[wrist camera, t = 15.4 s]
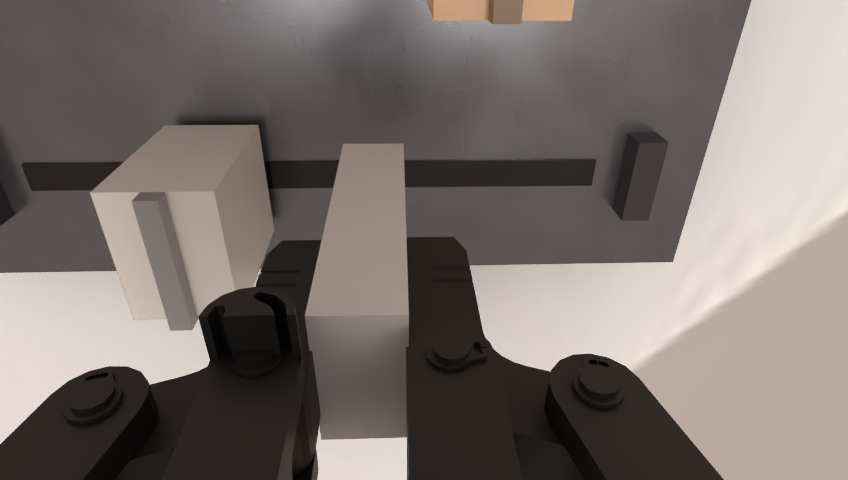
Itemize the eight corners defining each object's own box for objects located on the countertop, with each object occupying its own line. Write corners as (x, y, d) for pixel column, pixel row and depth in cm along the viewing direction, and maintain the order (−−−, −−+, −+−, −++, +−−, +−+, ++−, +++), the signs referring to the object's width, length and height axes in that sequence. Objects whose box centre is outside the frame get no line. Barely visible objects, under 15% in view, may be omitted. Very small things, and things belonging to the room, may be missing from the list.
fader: (165, 125, 17) (79, 201, 13) (258, 124, 18) (207, 200, 13) (191, 231, 19) (126, 331, 15) (274, 230, 20) (236, 329, 15)
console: (-255, -276, 14) (-402, -320, 11) (782, -246, 15) (860, -280, 13) (-8, 246, 22) (-61, 288, 20) (652, 236, 23) (683, 276, 21)
